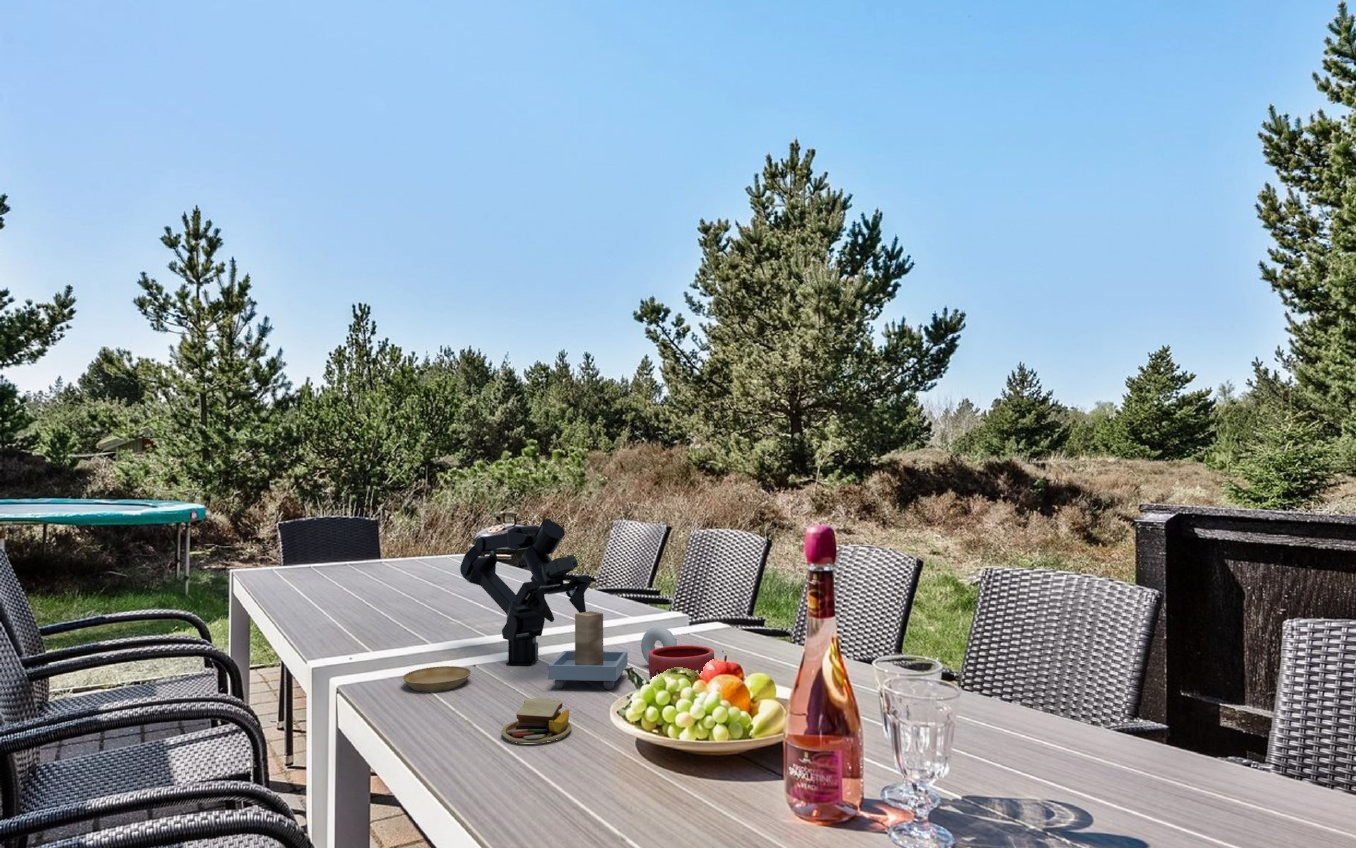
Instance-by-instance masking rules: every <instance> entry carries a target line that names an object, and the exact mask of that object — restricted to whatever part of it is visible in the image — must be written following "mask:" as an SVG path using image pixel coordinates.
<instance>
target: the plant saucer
mask: <svg viewBox="0 0 1356 848" xmlns="http://www.w3.org/2000/svg"><path fill="white" fill-rule="evenodd" d="M471 674H472V670H471V669H469V668H467V667H463V666H455V665H451V666H450V665H444V666H443V665H442V666H440V665H439V666H431V667H425V668H424V667H423V668H419V669H415V670H411V671H409V672H406V673H405V674H403V676H402V679H403V681H404V683H406V684H407V686H408V687H410V688H411V689H412V690H414V691H418V692H428V693H429V692H430V693H431V692H443V691H449V690H452V689H456V688H458V687H460V686H461V685H462V684H464V683H465V682H466V681H467V679H468V678H469V676H470V675H471Z"/></svg>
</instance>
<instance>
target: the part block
mask: <svg viewBox="0 0 1356 848" xmlns="http://www.w3.org/2000/svg"><path fill="white" fill-rule="evenodd" d="M574 651H575V665H593V666H603V651H604V613H602V612H597V611H593V610H592V611H591V610H589V611H586V612H582V613H579V612H577V613H575V614H574Z"/></svg>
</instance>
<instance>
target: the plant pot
mask: <svg viewBox="0 0 1356 848" xmlns="http://www.w3.org/2000/svg"><path fill="white" fill-rule="evenodd" d="M648 657H649V661H648V662H649V664H648V672H649V673H648V674H649V679H650V680H651V679H652V677H654V676H656V675H657V676H658V674H660V673H663V672H664V671H666V670H667V669H671V668H674V667H683V668H688V669H691V670H694V671H696V672H697V673H699V674H700V673H701V671H703V667H704V666H705V664H706V663H707V662H709V661H710V660H712V659H714V660H715V651H714V649H712V648H710V647H707V646H701V645H692V644H691V645H687V644H686V645H684V644H683V645H681V644H680V645H678V644H677V646H667V647H663V646H662V647H657V648H655V649H654V650H652V651H650V652H649V655H648Z"/></svg>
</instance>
